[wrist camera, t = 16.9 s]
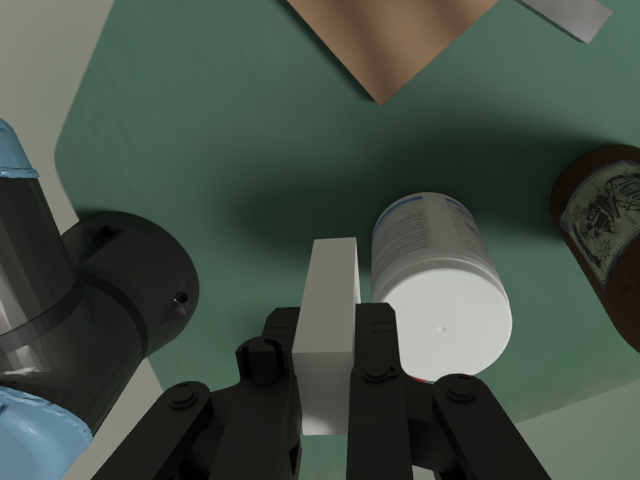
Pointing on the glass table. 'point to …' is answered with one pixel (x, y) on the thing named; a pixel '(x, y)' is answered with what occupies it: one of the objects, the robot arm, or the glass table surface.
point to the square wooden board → (388, 35)
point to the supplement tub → (439, 287)
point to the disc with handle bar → (571, 16)
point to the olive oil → (605, 229)
